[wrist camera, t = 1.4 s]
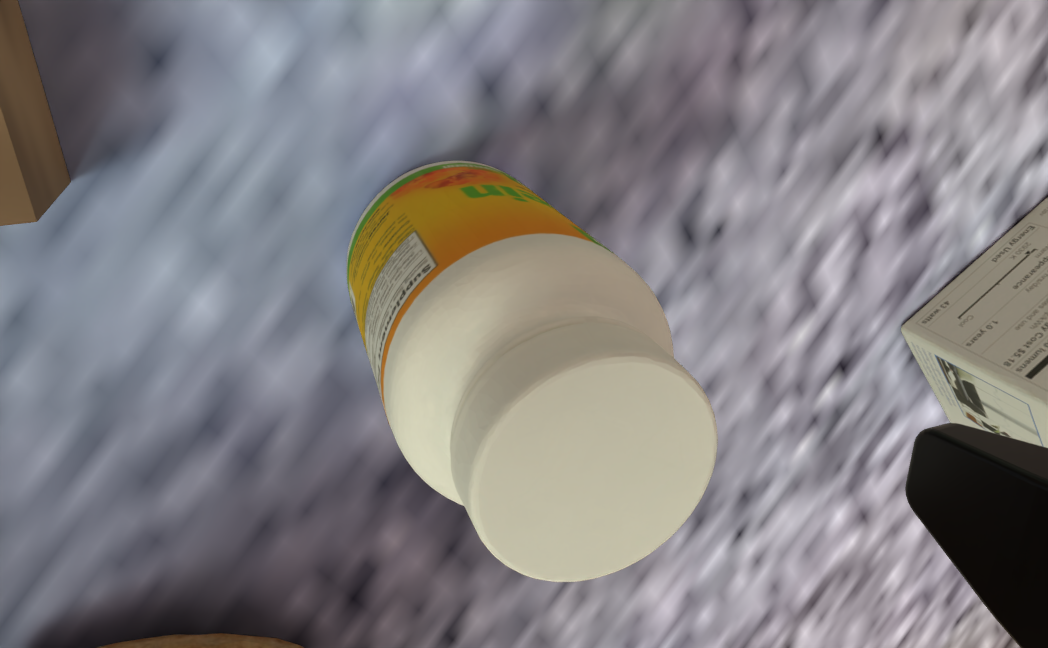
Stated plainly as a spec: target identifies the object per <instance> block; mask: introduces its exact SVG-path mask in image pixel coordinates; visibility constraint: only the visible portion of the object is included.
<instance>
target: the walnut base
mask: <svg viewBox="0 0 1048 648" xmlns="http://www.w3.org/2000/svg"><path fill="white" fill-rule="evenodd" d="M70 183H71V181H70V177H69V174H68V170H67V167H66V164H65V160H64V157H63V153H62V150H61V147H60V143H59V140H58V136H57V133H56V129H55V126H54V123H53V119H52V116H51V112H50V109H49V105H48V102H47V99H46V95H45V92H44V88H43V85H42V81H41V78H40V75H39V71H38V68H37V64H36V61H35V58H34V54H33V51H32V47H31V44H30V40H29V37H28V34H27V30H26V27H25V23H24V20H23V16H22V13H21V10H20V6H19V3H18V0H0V226H3V225H12V224H21V223H30V222H37V221H38V220H39V219H40V218H41V216H42V215H43V214H44V213H45V212H46V211H47V209H48V208H49V207H50V206H51V205H52V204H53V202H54V201H55V200H56V199H57V198H58V197H59V195H60V194H61V193H62V192H63V191H64V190H65V188H66V187H67V186H68V185H69V184H70Z"/></svg>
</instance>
